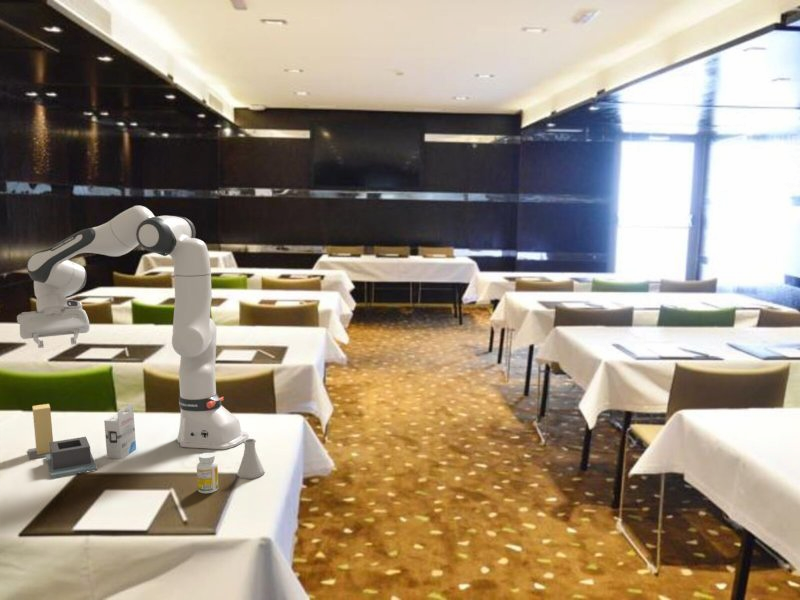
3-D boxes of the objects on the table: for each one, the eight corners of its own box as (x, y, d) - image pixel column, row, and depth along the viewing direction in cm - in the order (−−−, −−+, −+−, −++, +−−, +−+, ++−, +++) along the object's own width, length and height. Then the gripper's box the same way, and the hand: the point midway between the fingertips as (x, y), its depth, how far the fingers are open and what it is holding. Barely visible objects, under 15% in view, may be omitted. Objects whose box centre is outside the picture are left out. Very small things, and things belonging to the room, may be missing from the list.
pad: (28, 450, 231) (28, 449, 231) (60, 445, 236) (60, 444, 236) (29, 459, 224) (29, 458, 223) (62, 454, 228) (62, 452, 228)
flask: (251, 481, 206) (250, 446, 204) (232, 476, 209) (230, 442, 208) (269, 473, 212) (268, 438, 210) (250, 468, 215) (249, 434, 214)
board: (46, 458, 225) (45, 455, 224) (89, 451, 230) (88, 447, 230) (51, 478, 209) (50, 475, 209) (97, 470, 215) (96, 466, 214)
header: (50, 458, 221) (49, 442, 221) (87, 452, 226) (85, 436, 225) (53, 469, 213) (52, 452, 212) (91, 463, 217) (90, 446, 217)
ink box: (122, 448, 232) (119, 402, 230) (136, 449, 231) (133, 402, 229) (106, 458, 224) (102, 410, 222) (121, 459, 223) (117, 411, 221)
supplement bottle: (205, 495, 196) (204, 460, 195) (193, 490, 200) (191, 455, 198) (222, 489, 201) (221, 454, 199) (210, 484, 204) (208, 450, 202)
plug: (36, 450, 230) (32, 406, 228) (52, 447, 233) (49, 403, 230) (37, 454, 226) (33, 409, 224) (53, 452, 229) (50, 407, 226)
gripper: (15, 307, 235) (20, 343, 228) (86, 301, 245) (92, 335, 238) (16, 319, 240) (20, 354, 233) (85, 312, 249) (91, 347, 242)
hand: (57, 345), depth 235 cm, fingers open, 8 cm apart
